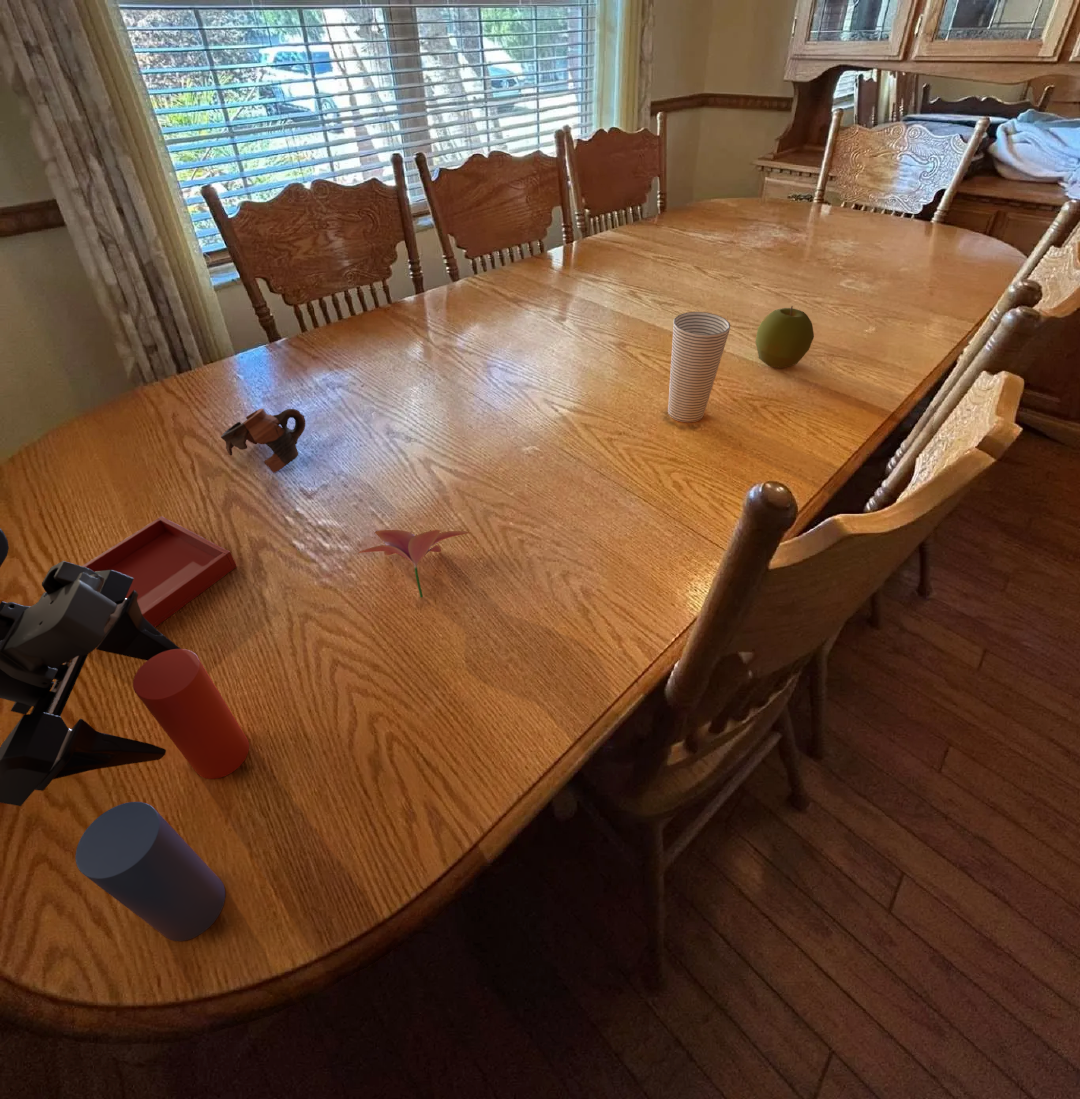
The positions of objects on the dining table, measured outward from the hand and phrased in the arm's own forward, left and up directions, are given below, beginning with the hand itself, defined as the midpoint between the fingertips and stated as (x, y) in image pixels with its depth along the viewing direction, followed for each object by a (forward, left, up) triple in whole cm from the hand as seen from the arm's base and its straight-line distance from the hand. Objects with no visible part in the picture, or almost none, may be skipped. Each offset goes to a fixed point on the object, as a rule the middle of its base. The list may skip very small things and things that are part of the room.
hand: (178, 706), depth 54 cm
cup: (+82, +16, -9) cm, 84 cm away
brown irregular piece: (+23, +46, -9) cm, 52 cm away
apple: (+109, +18, -9) cm, 110 cm away
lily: (+28, +10, -9) cm, 31 cm away
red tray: (+1, +28, -8) cm, 29 cm away
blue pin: (-5, -12, -8) cm, 16 cm away
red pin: (+1, 0, -8) cm, 8 cm away
